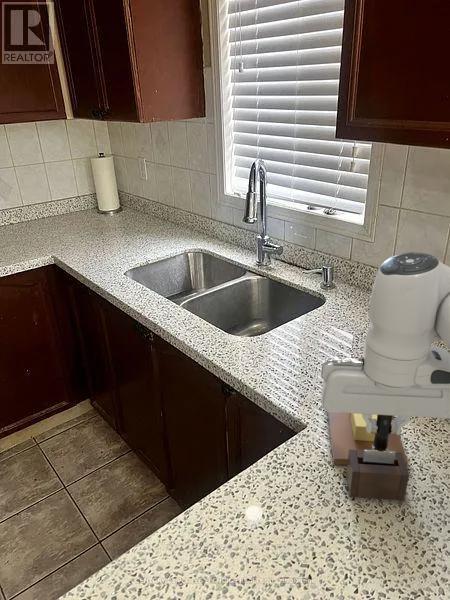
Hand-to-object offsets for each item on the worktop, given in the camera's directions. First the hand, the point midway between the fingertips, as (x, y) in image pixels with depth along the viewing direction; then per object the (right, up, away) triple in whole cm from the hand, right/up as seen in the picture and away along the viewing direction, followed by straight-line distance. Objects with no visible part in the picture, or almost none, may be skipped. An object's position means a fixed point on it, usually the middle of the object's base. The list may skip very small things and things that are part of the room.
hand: (382, 431), depth 72 cm
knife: (0, -10, +5) cm, 11 cm away
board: (+2, -5, +18) cm, 19 cm away
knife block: (0, -11, +6) cm, 13 cm away
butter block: (+2, -4, +16) cm, 17 cm away
